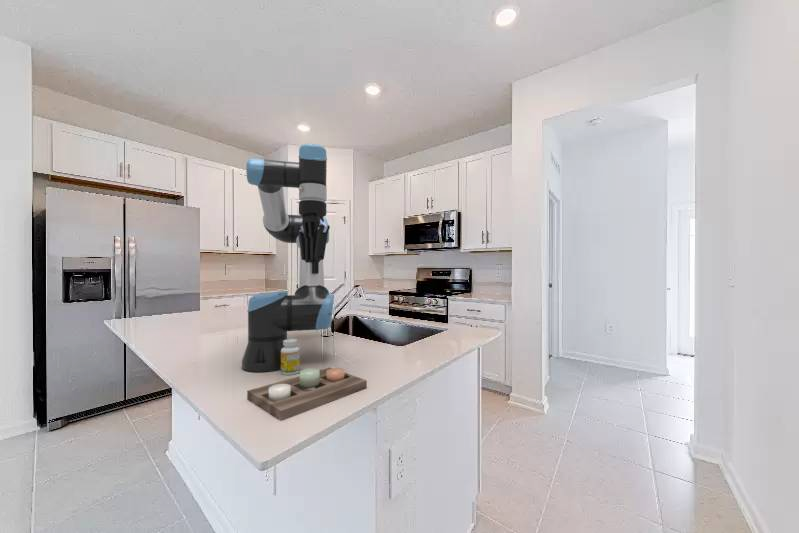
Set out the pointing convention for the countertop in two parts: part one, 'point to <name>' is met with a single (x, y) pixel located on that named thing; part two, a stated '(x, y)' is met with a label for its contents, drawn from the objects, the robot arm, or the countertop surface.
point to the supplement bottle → (290, 357)
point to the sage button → (309, 377)
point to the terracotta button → (335, 374)
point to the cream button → (279, 392)
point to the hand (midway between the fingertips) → (312, 285)
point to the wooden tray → (305, 394)
